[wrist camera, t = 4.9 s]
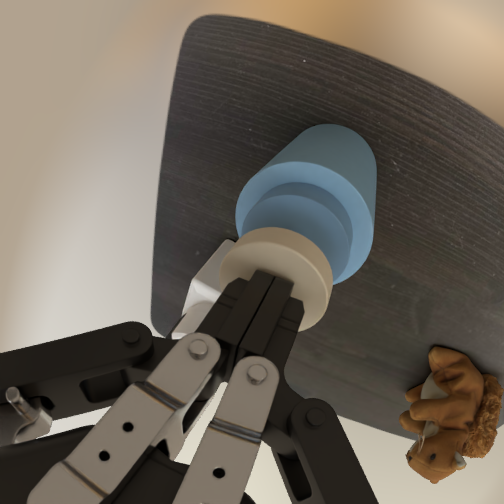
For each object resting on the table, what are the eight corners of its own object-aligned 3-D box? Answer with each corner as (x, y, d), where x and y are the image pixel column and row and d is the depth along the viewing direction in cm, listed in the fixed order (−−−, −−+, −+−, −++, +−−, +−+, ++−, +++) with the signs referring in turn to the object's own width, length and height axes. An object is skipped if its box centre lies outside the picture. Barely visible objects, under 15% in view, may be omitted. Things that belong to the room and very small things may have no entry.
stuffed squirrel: (428, 341, 29) (424, 455, 19) (520, 363, 26) (533, 461, 16) (392, 390, 35) (376, 485, 25) (477, 407, 32) (476, 493, 21)
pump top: (241, 268, 16) (214, 309, 14) (255, 191, 14) (223, 225, 11) (323, 299, 16) (308, 346, 13) (353, 224, 13) (344, 268, 10)
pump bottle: (278, 194, 27) (215, 277, 18) (296, 112, 23) (231, 152, 13) (360, 221, 26) (340, 324, 16) (388, 141, 21) (396, 205, 12)
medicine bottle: (266, 314, 35) (220, 403, 26) (209, 283, 36) (151, 362, 27) (292, 271, 31) (245, 368, 22) (226, 236, 31) (158, 318, 22)
